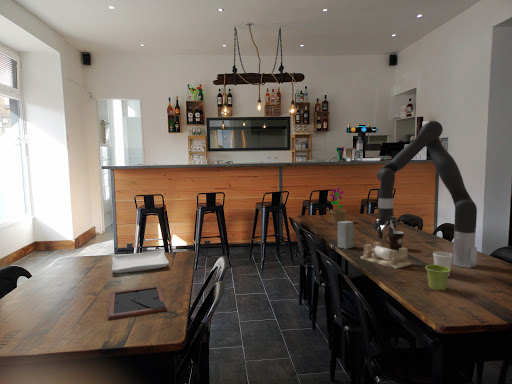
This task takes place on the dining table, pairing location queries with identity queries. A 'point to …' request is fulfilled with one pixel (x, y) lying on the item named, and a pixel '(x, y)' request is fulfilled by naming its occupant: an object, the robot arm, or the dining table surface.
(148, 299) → the picture frame
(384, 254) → the roll
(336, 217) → the flowerpot
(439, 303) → the dining table surface
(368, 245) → the holder
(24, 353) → the dining table surface
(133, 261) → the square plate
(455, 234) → the robot arm
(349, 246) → the skincare box
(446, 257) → the dixie cup
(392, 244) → the coffee mug
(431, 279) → the plant pot
